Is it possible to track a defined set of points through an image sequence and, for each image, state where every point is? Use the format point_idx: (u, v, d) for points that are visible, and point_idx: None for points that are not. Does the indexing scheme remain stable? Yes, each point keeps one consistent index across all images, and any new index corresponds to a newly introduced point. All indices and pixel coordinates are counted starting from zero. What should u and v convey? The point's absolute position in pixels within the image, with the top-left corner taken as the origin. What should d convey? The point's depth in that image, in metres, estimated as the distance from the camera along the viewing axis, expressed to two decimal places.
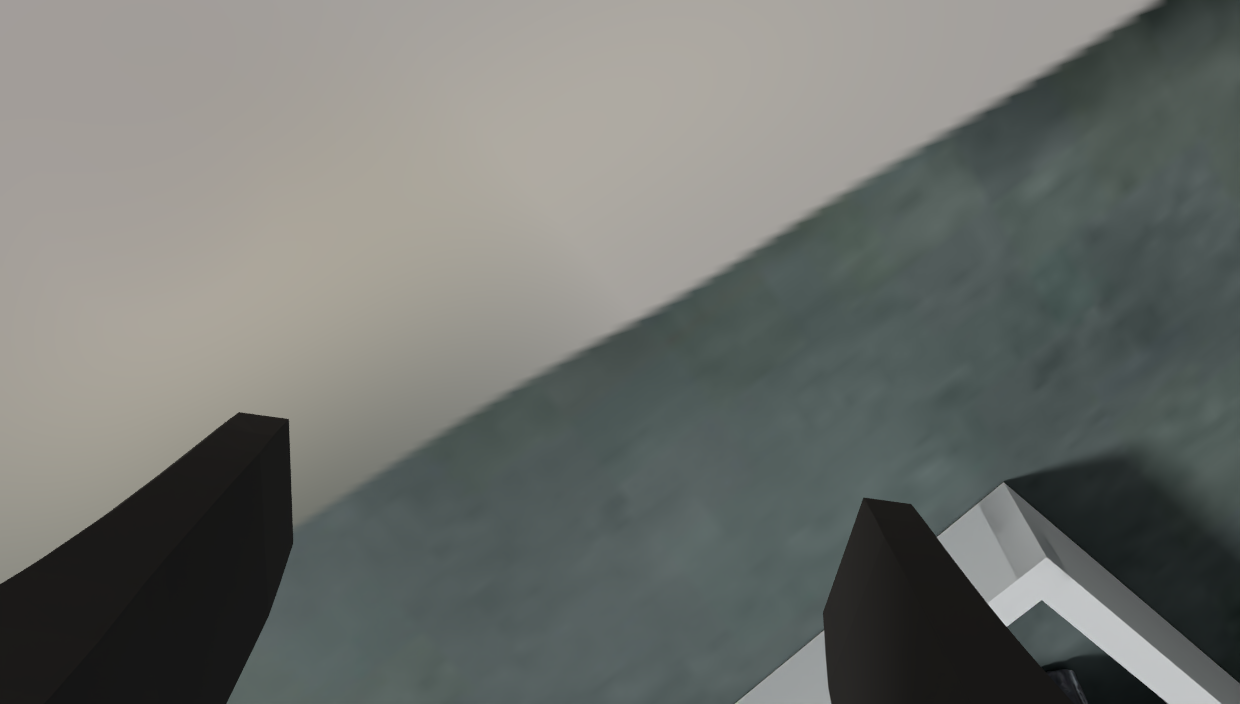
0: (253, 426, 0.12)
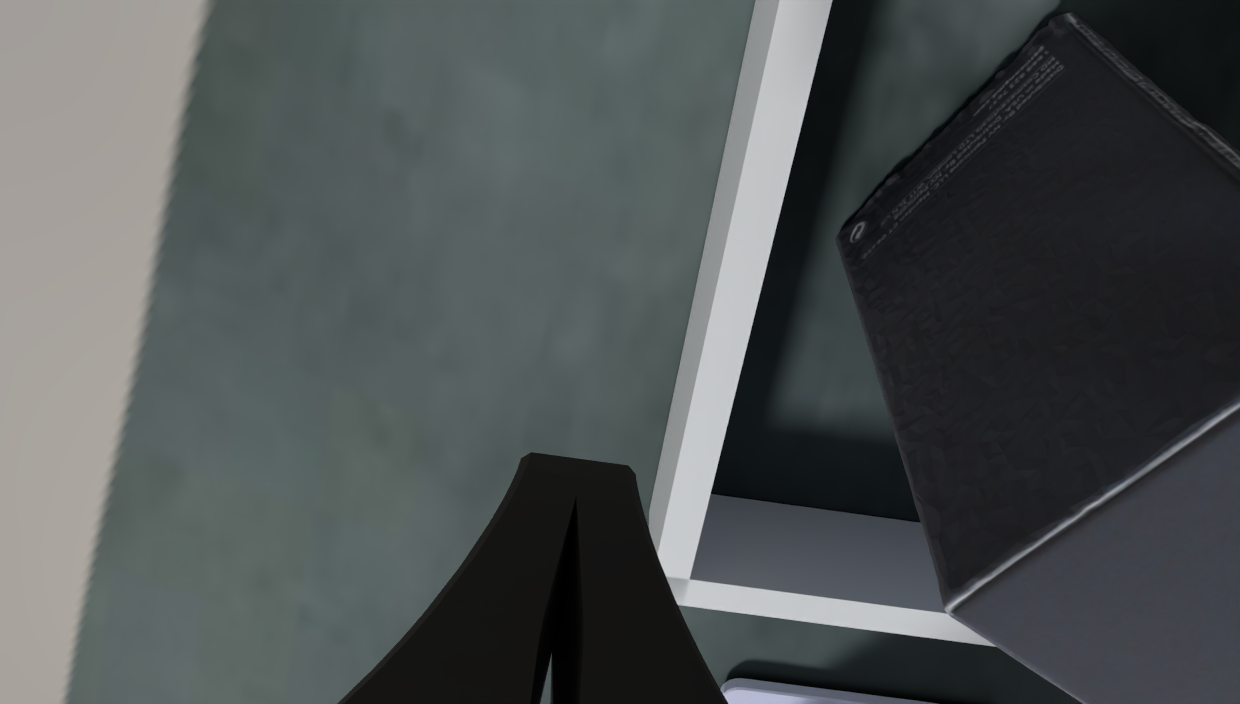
0: (554, 468, 0.12)
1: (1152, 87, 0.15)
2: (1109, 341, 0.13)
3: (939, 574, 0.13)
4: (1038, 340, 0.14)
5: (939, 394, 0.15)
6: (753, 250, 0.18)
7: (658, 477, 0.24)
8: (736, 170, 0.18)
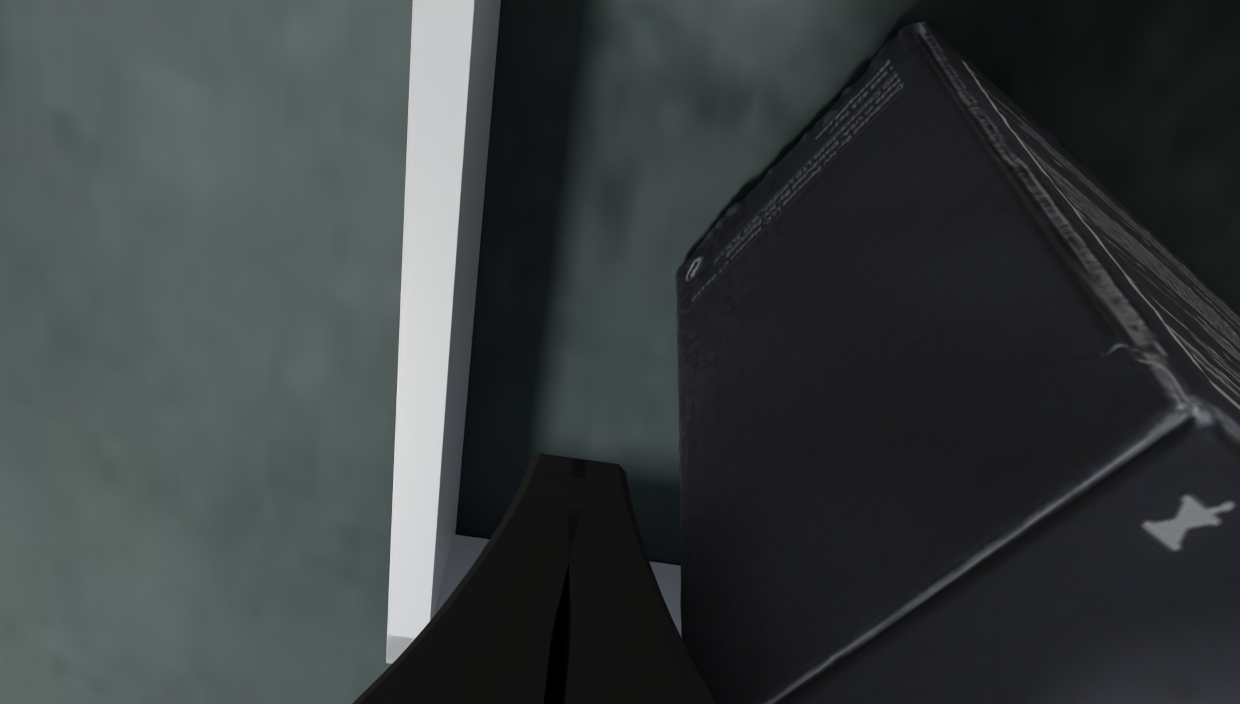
0: (563, 469, 0.12)
1: (984, 113, 0.13)
2: (890, 433, 0.10)
3: None
4: (823, 422, 0.11)
5: (723, 478, 0.13)
6: (434, 276, 0.16)
7: None
8: None
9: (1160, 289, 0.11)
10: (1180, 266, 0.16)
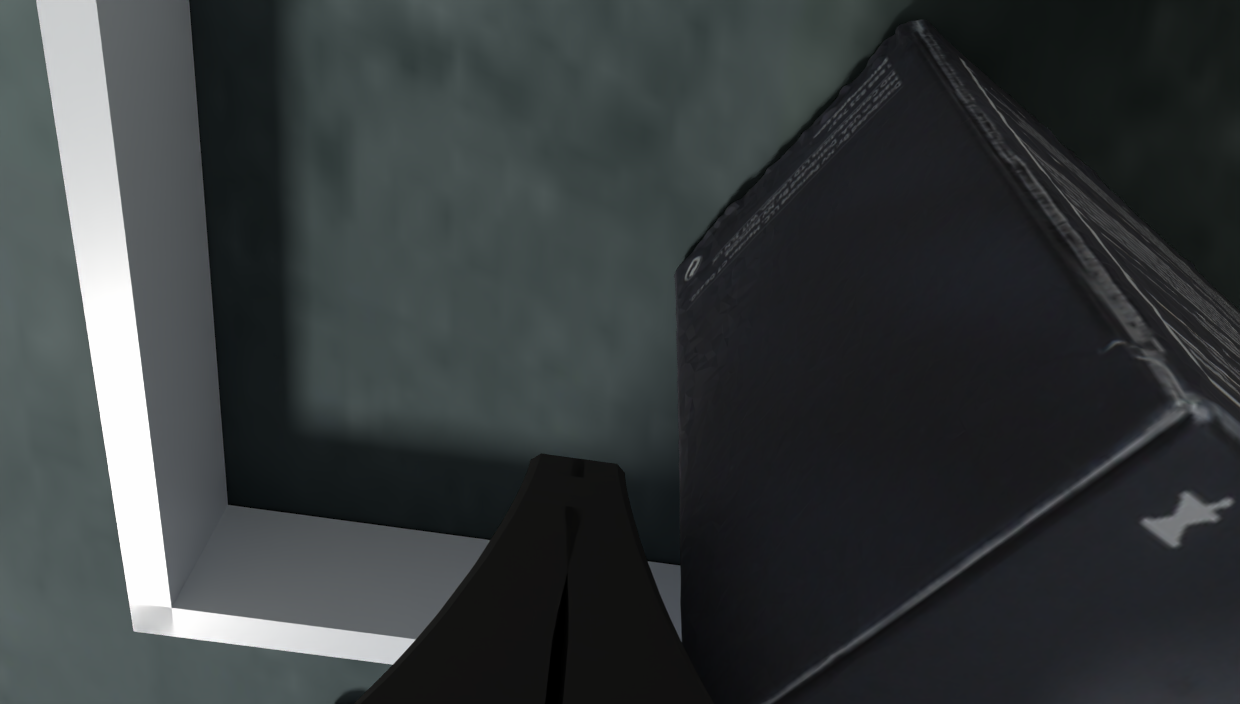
0: (565, 469, 0.12)
1: (981, 111, 0.13)
2: (888, 431, 0.10)
3: None
4: (822, 420, 0.11)
5: (723, 478, 0.13)
6: (103, 229, 0.15)
7: None
8: None
9: (1158, 286, 0.11)
10: (1179, 263, 0.16)
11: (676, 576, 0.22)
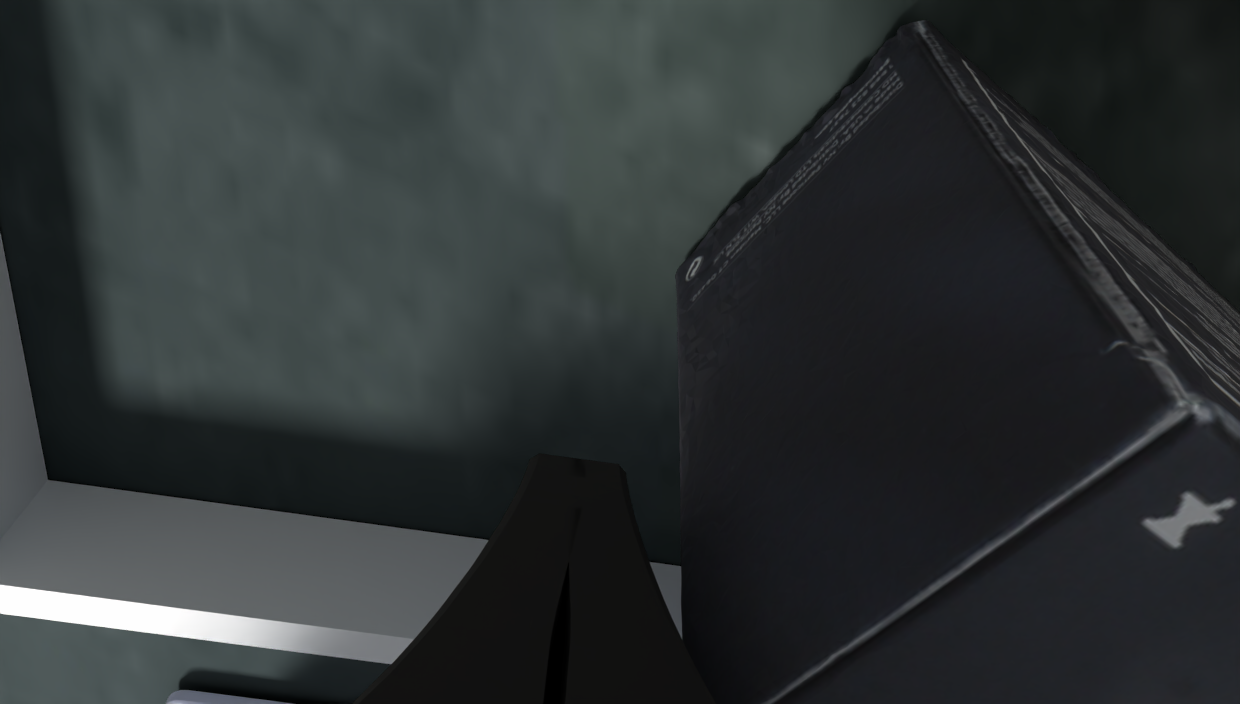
0: (563, 469, 0.12)
1: (983, 111, 0.13)
2: (890, 431, 0.10)
3: None
4: (823, 421, 0.11)
5: (724, 479, 0.13)
6: None
7: None
8: None
9: (1160, 287, 0.11)
10: (1180, 264, 0.16)
11: None
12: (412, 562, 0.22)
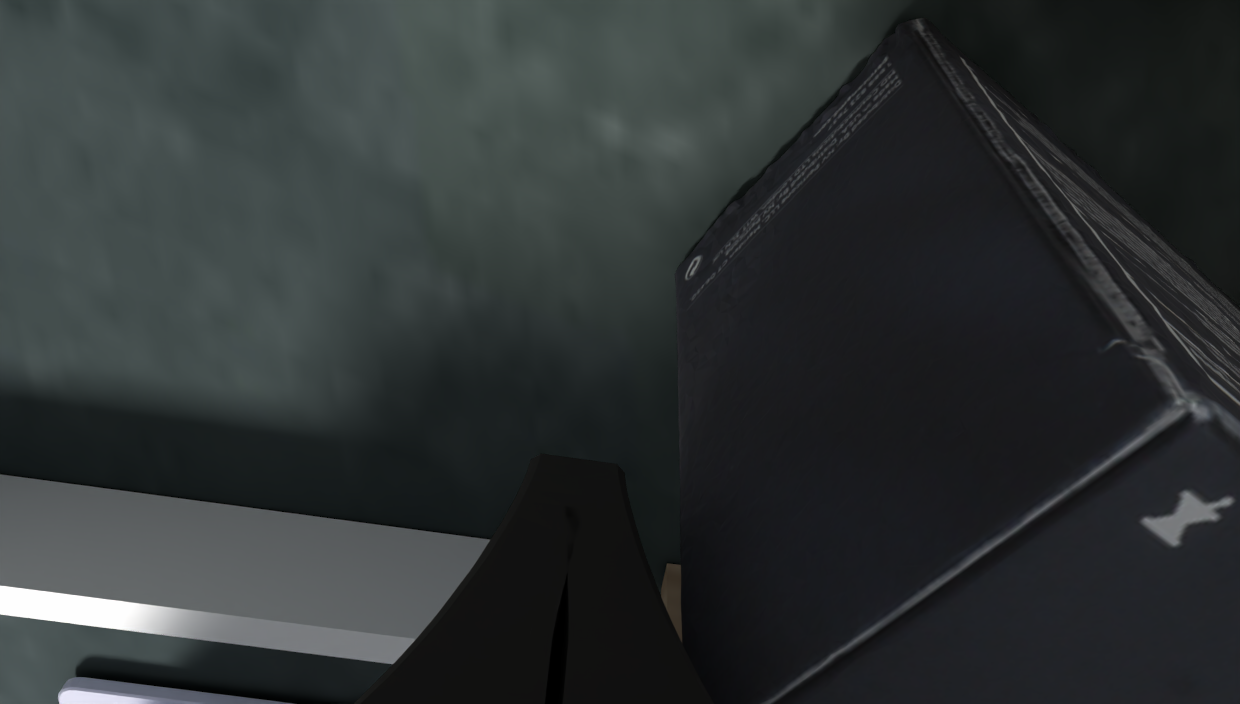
0: (564, 470, 0.12)
1: (981, 109, 0.13)
2: (889, 431, 0.10)
3: None
4: (822, 420, 0.11)
5: (723, 478, 0.13)
6: None
7: None
8: None
9: (1159, 284, 0.11)
10: (1180, 261, 0.16)
11: (382, 537, 0.22)
12: (290, 546, 0.21)
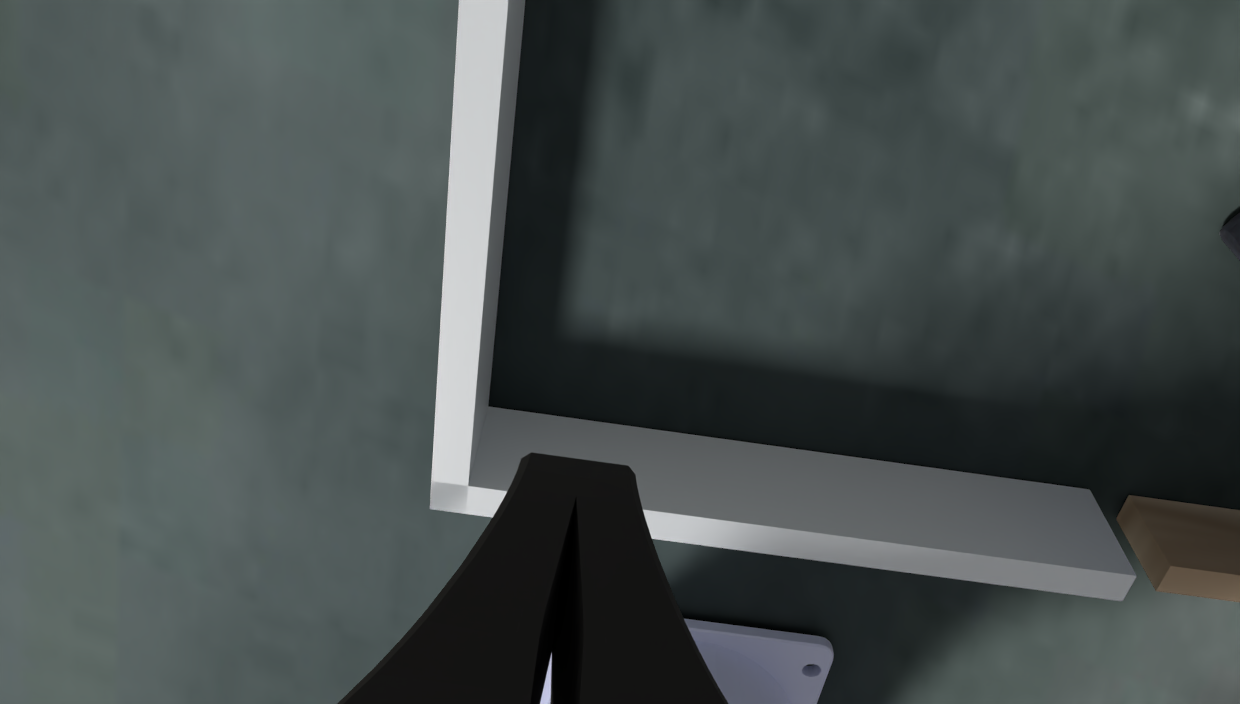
0: (554, 468, 0.12)
1: None
2: None
3: None
4: None
5: None
6: (479, 134, 0.18)
7: None
8: None
9: None
10: None
11: (888, 470, 0.25)
12: (819, 476, 0.24)
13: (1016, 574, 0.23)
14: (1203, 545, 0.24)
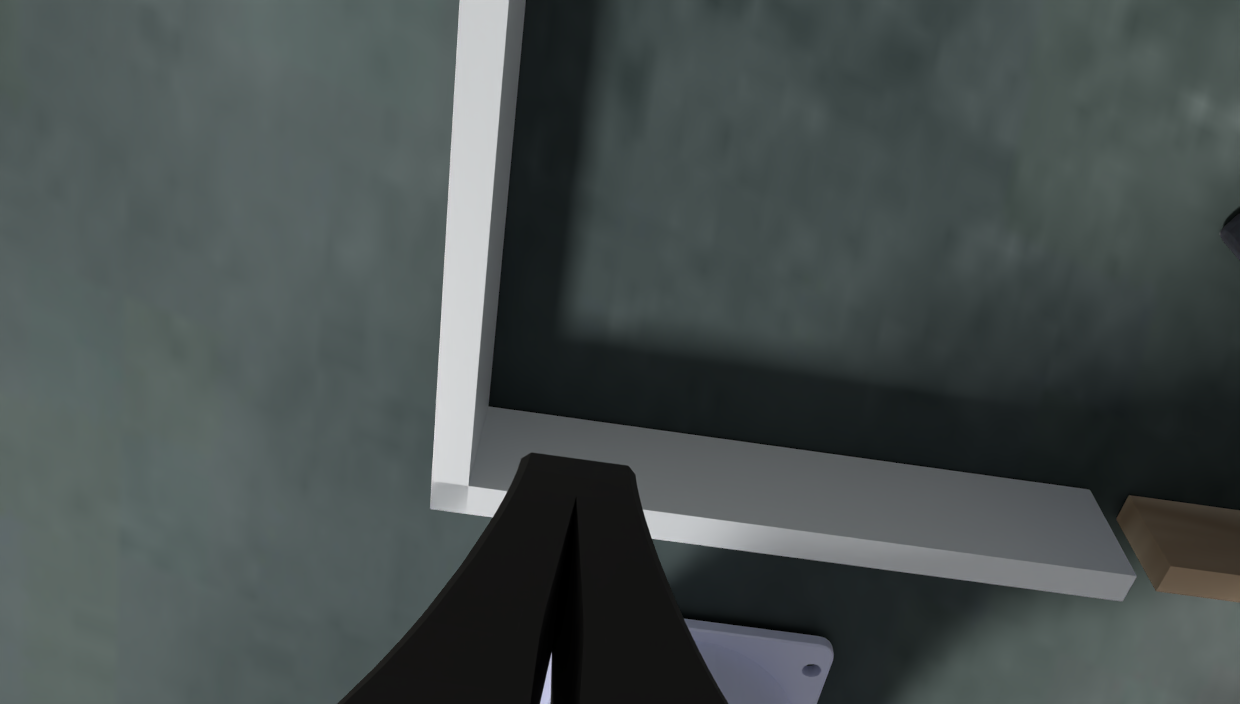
0: (554, 467, 0.12)
1: None
2: None
3: None
4: None
5: None
6: (480, 134, 0.18)
7: None
8: None
9: None
10: None
11: (888, 470, 0.25)
12: (819, 476, 0.24)
13: (1016, 574, 0.23)
14: (1203, 545, 0.24)
